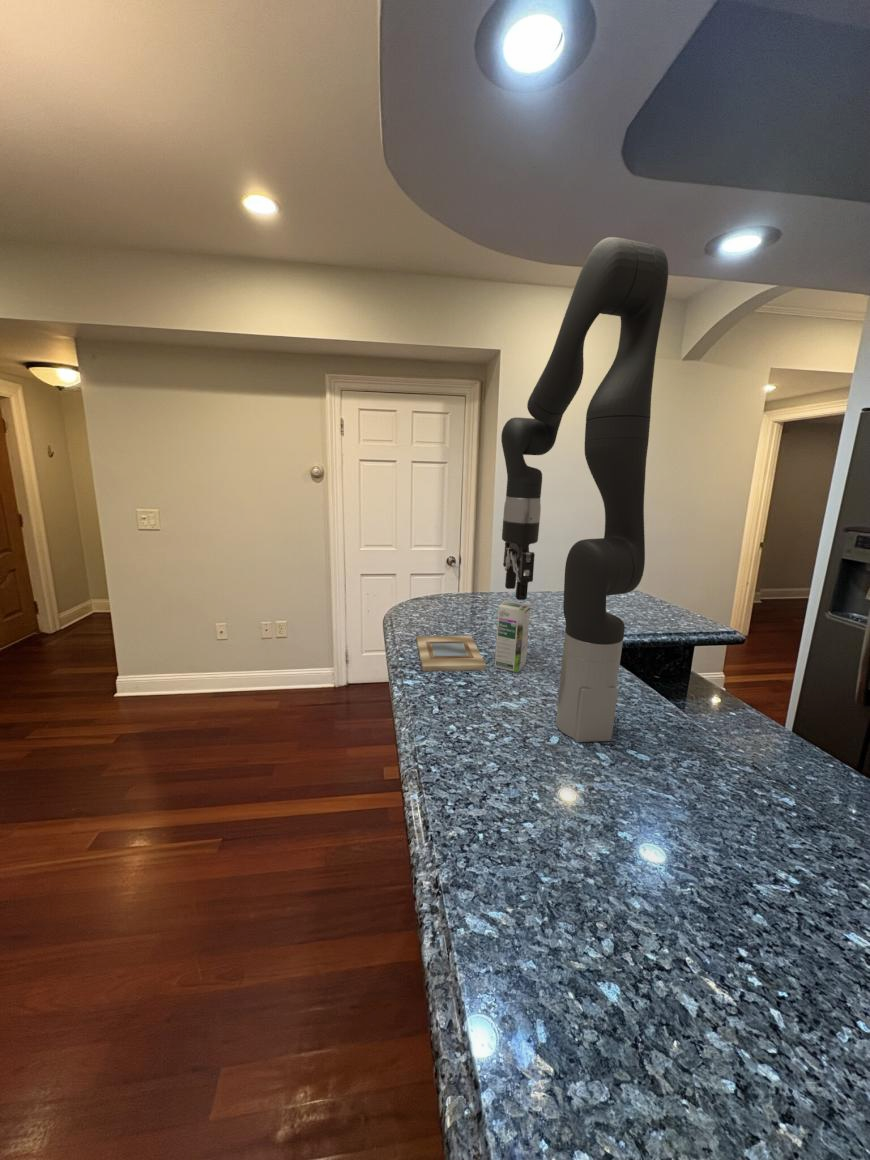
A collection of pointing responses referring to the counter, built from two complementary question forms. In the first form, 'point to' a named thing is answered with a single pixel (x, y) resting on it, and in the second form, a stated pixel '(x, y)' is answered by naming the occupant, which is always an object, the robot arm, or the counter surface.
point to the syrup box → (512, 635)
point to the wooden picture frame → (449, 653)
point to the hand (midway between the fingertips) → (515, 593)
